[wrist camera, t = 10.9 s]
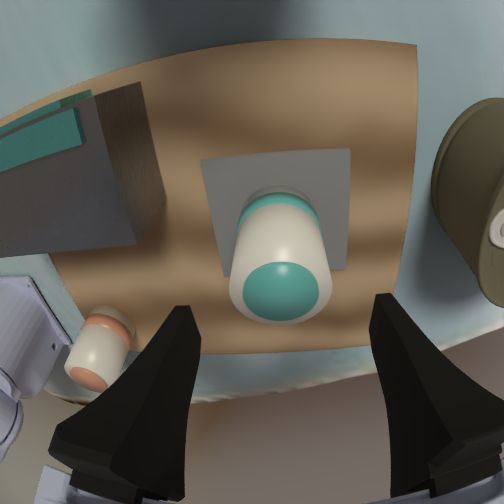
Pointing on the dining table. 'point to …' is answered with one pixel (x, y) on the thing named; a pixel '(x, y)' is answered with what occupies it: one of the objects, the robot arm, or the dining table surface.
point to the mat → (287, 174)
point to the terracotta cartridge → (100, 348)
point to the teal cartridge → (279, 259)
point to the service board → (250, 142)
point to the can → (474, 192)
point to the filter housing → (79, 174)
